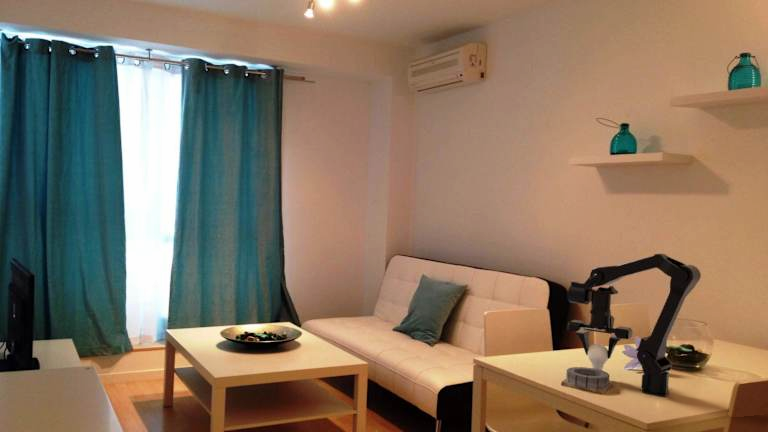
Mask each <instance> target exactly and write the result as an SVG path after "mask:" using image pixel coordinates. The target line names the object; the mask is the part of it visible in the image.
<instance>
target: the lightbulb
mask: <svg viewBox="0 0 768 432" xmlns="http://www.w3.org/2000/svg"><path fill="white" fill-rule="evenodd" d="M587 357H588V359H589V361H590V363H591V368H593V369H598V370H602V371H603V369H604V365H605V364H606V363H607V361H608V347H606V346H605V345H603V344H602V343H594V344H592V345H590V346H589V349H588V355H587Z"/></svg>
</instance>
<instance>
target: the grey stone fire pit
mask: <svg viewBox="0 0 768 432" xmlns="http://www.w3.org/2000/svg"><path fill="white" fill-rule="evenodd" d="M560 385H561V386H563V387H568V388H572V389H574V388H575V389H579V390H583V391H584V390H585V391H589V392H593V393H599V394H604V393H606V392H607V391H608V390H610V389H611V388H612V387H613V386H614V383H613V382H612V381H610V374H609V372H607V371H604V370H603V369H602V370H598V369H593V368H592V367H584V366H579V367H578V366H574V367H573V366H572V367H569V368H567V369H566V376H565V379H563V380H562V381H561V382H560Z"/></svg>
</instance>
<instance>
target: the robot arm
mask: <svg viewBox="0 0 768 432" xmlns="http://www.w3.org/2000/svg"><path fill="white" fill-rule="evenodd" d="M656 268H657V269H658V270H660V271H661V272H662V273H664V274H665V275H666V276H667V277H670V282H669V293H668V296H667V298H666V300H665V303H664V304H663V307H662V309H661V312H660V314H659V315H658V318H657V321H656V323H655V325H654V328H653V330H652V332H651V334H650V335H649V336H648V335H647V336H645V337H642V338H640V340H641V341H640V345H639V347H638V348H636V351H638V352H637V358H638V361H639V362H640V364H641V366H640V367H641V369H642V372H643V374H642V375H641V393H645V394H650V395H655V396H660V397H666V396H667V395H668V394H669V393H670V389H669V379H670V377H669V376H670V371H671V369H672V367H673V364H672V363H671V361H670V360H669V358H667V356H666V352H667V347H668V345H667V341H668V338H669V335H670V333H671V331H672V328H673V327H674V325H675V322H676V319H677V318H678V315H679V313H680V310H681V308H682V307H683V304H684V302H685V300H686V298H687V296H689V294H690V293H691V292H692V291H693V290H694V289H695V287H696V286H697V284H698V282H700V280H701V277H702V276H701V275H702V274H701V272H700V270H699V268H698V267H697V266H695V265H692V264H686V263H685V262H682V261H679V260H677V259H675V258H672V257H670V256H669V255H667V254H665V253H655V254H653V255H651V256H648V257H644V258H639V259H636V260H633V261H630V262H626V263H622V264H619V265H608V266H607V265H606V266H598V267H595V268H594V267H593V269H592V270H591V272H590V274H589V277H588V278H587V279H586V280H585V282H579V281H571V283H570V286H569V287H568V291H567V293H566V298H567V301H568V302H569V303H573V304H579V305H585V306H587V305H589V304H590V310H589V314H590V322H589V324H588V323H586V322H585V320H579V319H573V320H571V321H569V322H567V328H566V329H567V330H566V331H569V332H574V334H575V335H577V336H578V338H579V340H580V342H581V345H582V347H583V351H584V352H585V355H586V356H588V349H589V348H590V346H589V345H590V341H589V338H590V332H597V333H603V334H610V335H611V336H610V337H609V339H608V345H607V350H608V359H611V357H612V354H613V351H614V350H615V347H616V345H617V343H618V342H620V341H621V340H629V339H631V338H632V337H633V332H634V331H633V329H632V328H631V327H628V326H621V325H619V326H617V327H616V328H615V327H614V325H615V317H614V316H613V315H612V309H611V302H612V295H617V294H619V291H618V290H617V289H616V288H615V287H614V285H611V284H614V283H615V282H618V281H620V280H621V279H623V278H625V277H627V276H628V277H629V276H632V275H635V274H639V273H642V272H646V271H650V270H653V269H656ZM606 285H609V286H608V287H603V286H606Z"/></svg>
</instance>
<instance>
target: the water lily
mask: <svg viewBox="0 0 768 432" xmlns="http://www.w3.org/2000/svg"><path fill="white" fill-rule="evenodd" d="M640 341H641V338H640V337H639V336H634V344H635V346H632V345H631V344H624V345H623V348H624V350H622V352H621V353H622V354H623V355H624V356H626V357H628V358H630V359H631V360H630V361H629V362H627V363H626V364H625V366H624V368H623V370H636V369H638V368H640V367H642V366H641V364H640V362H639V361H638V358H637V352H638V351H636V349H637V348H638V347H639V345H640Z"/></svg>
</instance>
